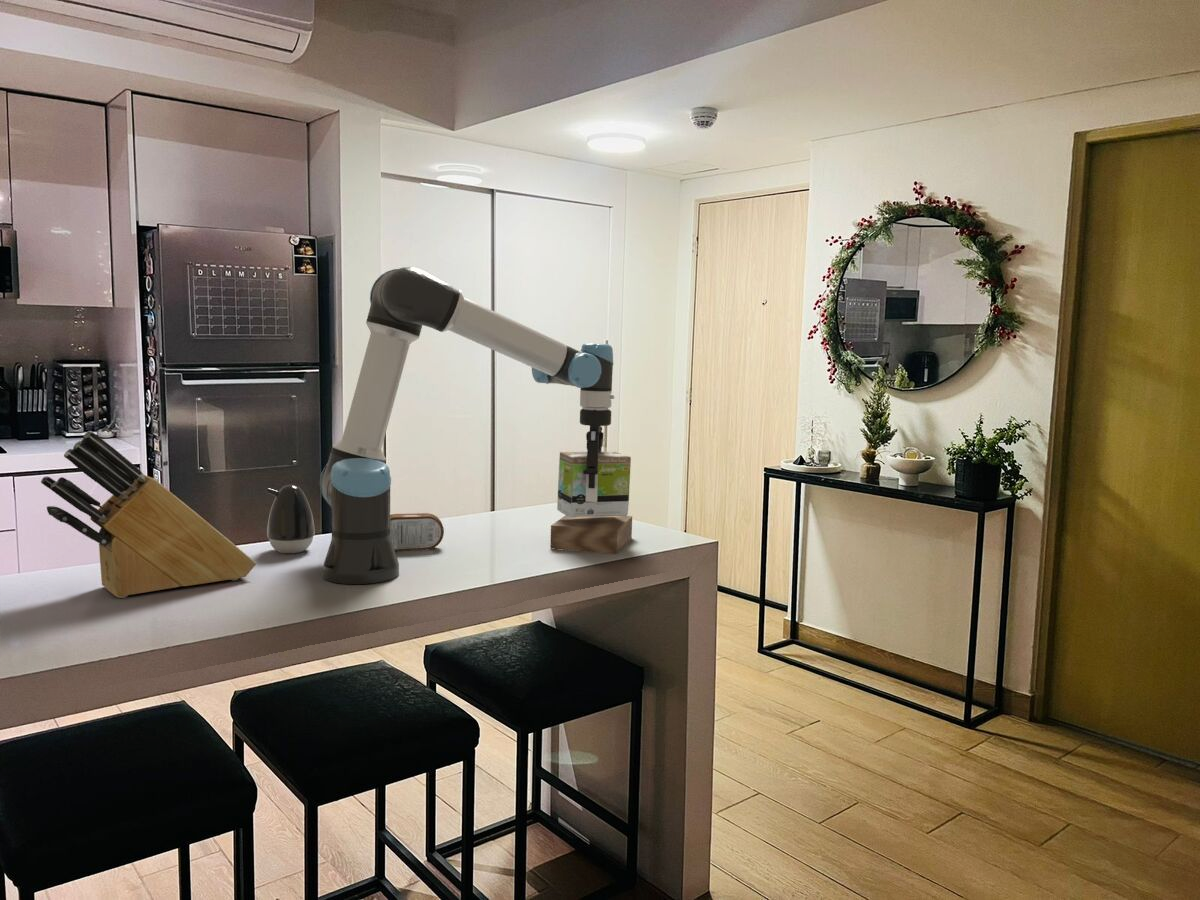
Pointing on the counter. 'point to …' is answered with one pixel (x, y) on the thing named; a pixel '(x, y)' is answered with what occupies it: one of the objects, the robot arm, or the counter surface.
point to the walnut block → (592, 533)
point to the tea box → (610, 485)
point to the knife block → (143, 527)
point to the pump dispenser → (290, 520)
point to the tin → (415, 531)
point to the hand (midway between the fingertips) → (593, 496)
